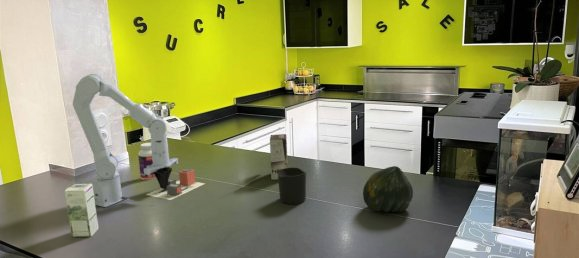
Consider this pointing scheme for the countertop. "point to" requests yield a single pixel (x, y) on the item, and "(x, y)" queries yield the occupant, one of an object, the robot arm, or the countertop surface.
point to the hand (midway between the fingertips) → (163, 187)
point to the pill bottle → (145, 160)
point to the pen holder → (292, 185)
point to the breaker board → (163, 194)
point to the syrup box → (81, 210)
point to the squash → (388, 190)
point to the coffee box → (278, 154)
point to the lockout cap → (187, 177)
